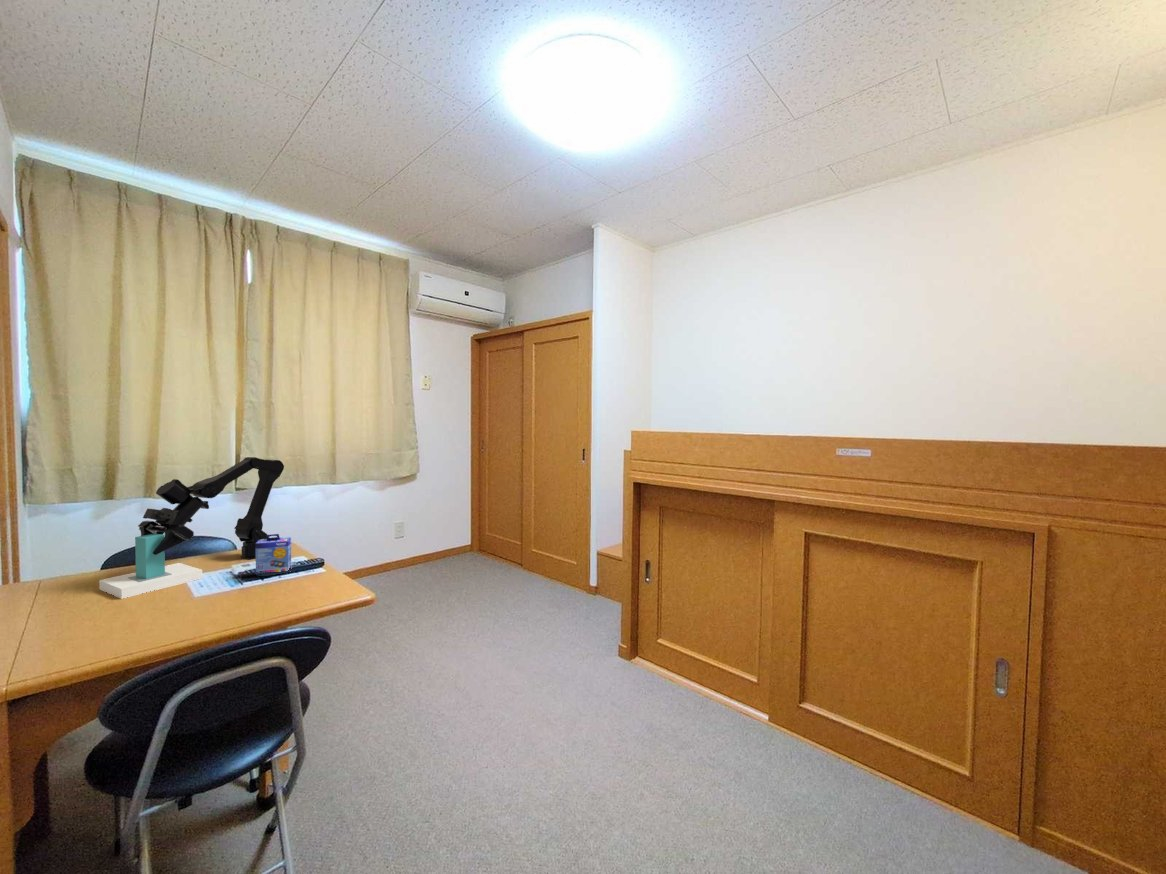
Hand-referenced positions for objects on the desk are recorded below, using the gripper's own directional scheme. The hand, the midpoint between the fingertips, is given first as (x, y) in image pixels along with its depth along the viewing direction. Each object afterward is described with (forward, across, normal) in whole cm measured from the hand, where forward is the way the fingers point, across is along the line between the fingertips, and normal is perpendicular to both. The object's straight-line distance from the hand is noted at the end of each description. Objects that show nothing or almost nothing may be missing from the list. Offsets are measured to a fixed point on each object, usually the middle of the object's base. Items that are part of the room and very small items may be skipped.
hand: (144, 552), depth 143 cm
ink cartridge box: (-8, +27, +24) cm, 37 cm away
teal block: (+4, 0, +7) cm, 8 cm away
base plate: (+6, -1, +10) cm, 11 cm away
